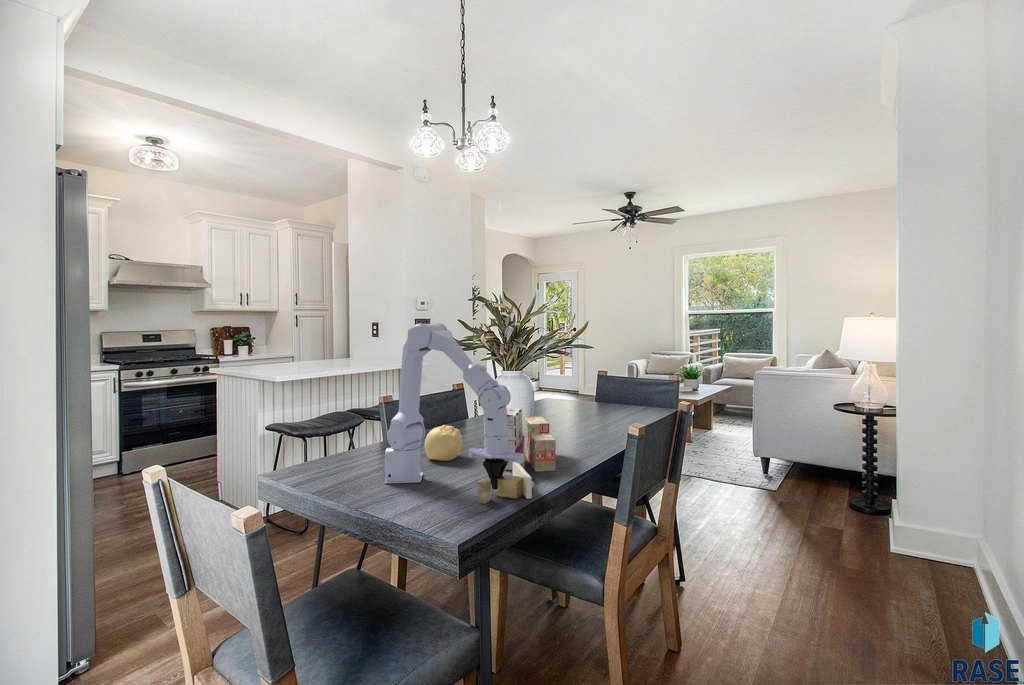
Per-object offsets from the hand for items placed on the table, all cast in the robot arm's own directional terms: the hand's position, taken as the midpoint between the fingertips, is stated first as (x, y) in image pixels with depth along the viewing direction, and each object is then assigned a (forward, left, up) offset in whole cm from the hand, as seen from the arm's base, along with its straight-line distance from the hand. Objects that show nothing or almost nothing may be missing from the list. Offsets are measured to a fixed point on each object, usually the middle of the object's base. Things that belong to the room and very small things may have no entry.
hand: (495, 488), depth 122 cm
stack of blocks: (+15, +28, -2) cm, 32 cm away
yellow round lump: (-15, +34, -2) cm, 38 cm away
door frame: (+2, +4, -1) cm, 5 cm away
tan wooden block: (+4, -2, -1) cm, 4 cm away
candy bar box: (+6, +24, -2) cm, 25 cm away
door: (+7, +2, -1) cm, 8 cm away
